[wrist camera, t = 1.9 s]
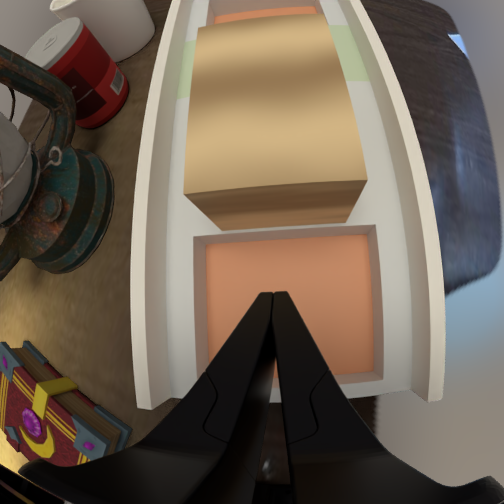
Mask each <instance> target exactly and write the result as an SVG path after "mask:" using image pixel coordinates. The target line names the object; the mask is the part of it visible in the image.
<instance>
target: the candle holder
mask: <svg viewBox="0 0 504 504" xmlns="http://www.w3.org/2000/svg"><path fill="white" fill-rule="evenodd" d="M50 10H51V11H52V12H53V13H54V14H55V15H56V16H57V17H58V18H59V19H60V20H61V21H64V20H66V19H68V18H72V17H78V18H79V19H80V20H81V21H82V22H83V23H84V24H85V25H86V27H87V28H88V29H89V30H90V31H91V33H92V34H93V35H94V37H95V38H96V39H97V40H98V42H99V43H100V44H101V46H102V47H103V48H104V49H105V51H106V52H107V53H108V55H109V56H110V57H111V58H112V60H113V61H114V62H115V63H116V62H119V61H122V60H124V59H126V58H128V57H130V56H132V55H134V54H135V53H137V52H138V51H139V50H141V49H142V48H143V47H144V46H145V45H146V44H147V43H148V42H149V41H150V40H151V38H152V37H153V35H154V32H155V26H154V23H153V21H152V19H151V16H150V14H149V12H148V10H147V8H146V5H145V3H144V1H143V0H53V1H52V3H51V5H50Z"/></svg>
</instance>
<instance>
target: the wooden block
mask: <svg viewBox="0 0 504 504" xmlns="http://www.w3.org/2000/svg"><path fill="white" fill-rule="evenodd" d="M367 181H368V177H367V172H366V166H365V161H364V156H363V151H362V146H361V141H360V137H359V132H358V128H357V123H356V119H355V115H354V111H353V107H352V103H351V99H350V95H349V91H348V88H347V84H346V80H345V77H344V74H343V70H342V67H341V63H340V60H339V57H338V54H337V51H336V48H335V45H334V42H333V39H332V36H331V33H330V30H329V27H328V24H327V22H326V19H325V16H324V14H294V15H279V16H268V17H259V18H250V19H243V20H236V21H230V22H224V23H218V24H213V25H208V26H203V27H199V28H198V32H197V39H196V46H195V54H194V62H193V71H192V80H191V89H190V100H189V111H188V122H187V135H186V150H185V167H184V188H183V195H185V196H186V197H187V198H188V199H189V200H190V201H191V202H192V203H193V204H194V205H195V206H196V207H197V208H198V209H199V210H200V211H201V212H202V213H204V214H205V215H206V216H207V217H208V218H209V219H210V220H211V221H212V222H213V223H214V224H215V225H216V226H217V227H218V228H219V229H220V230H222V231H229V230H243V229H256V228H271V227H285V226H301V225H317V224H334V223H346V221H347V219H348V218H349V216H350V214H351V212H352V210H353V208H354V206H355V204H356V202H357V200H358V198H359V197H360V195H361V193H362V191H363V189H364V187H365V185H366V183H367Z"/></svg>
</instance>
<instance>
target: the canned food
mask: <svg viewBox="0 0 504 504" xmlns="http://www.w3.org/2000/svg"><path fill="white" fill-rule="evenodd" d="M25 58H26V59H27V60H29V61H31V62H33V63H35V64H36V65H38V66H40V67H42V68H43V69H45V70H47V71H49V72H50V73H52V74H54V75H55V76H57V77H58V78H59V79H60V80H62V81H63V82H64V83H65V84H66V85H67V86H69V87H70V89H71V91H72V94H73V96H74V99H75V103H76V122H75V124H77V125H78V126H81V127H85V128H94V127H97V126H100V125H102V124H103V123H105V122H107V121H108V120H109V119H111V118H112V117H113V116H114V115H115V114H116V113H117V112H118V111H119V109H120V108H121V107H122V105H123V104H124V102H125V100H126V98H127V94H128V83H127V79H126V77H125V75H124V74H123V73H122V71H121V70H120V69H119V68H118V66H117V65H116V64H115V62H114V61H113V60H112V58H111V57H110V56H109V55H108V53H107V52H106V51H105V49H104V48H103V47H102V46H101V44H100V43H99V42H98V40H97V39H96V38H95V37H94V35H93V34H92V33H91V31H90V30H89V29H88V28H87V27H86V25H85V24H84V23H83V22H82V21H81V20H80V19H79V18H78V17H72V18H68V19H66V20H64V21H62V22H60V23H58V24H57V25H55V26H54V27H52V28H51V29H50V30H48V31H47V32H46V33H45V34H44V35H43V36H42V37H41V38H40V39H39V40H38V41H37V42H36V43H35V44H34V45H33V46H32V48H31V49H30V50H29V52H28V53H27V55H26V56H25Z"/></svg>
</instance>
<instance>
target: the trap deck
mask: <svg viewBox="0 0 504 504" xmlns="http://www.w3.org/2000/svg"><path fill="white" fill-rule="evenodd" d="M294 14H324V16H325V19H326V22H327V24H328V27H329V30H330V33H331V36H332V39H333V42H334V45H335V48H336V51H337V54H338V57H339V60H340V63H341V67H342V70H343V74H344V77H345V80H346V84H347V88H348V91H349V95H350V99H351V103H352V107H353V111H354V115H355V119H356V123H357V128H358V132H359V137H360V141H361V146H362V151H363V156H364V161H365V166H366V172H367V177H368V181H367V183H366V185H365V187H364V189H363V191H362V193H361V195H360V197H359V198H358V200H357V202H356V204H355V206H354V208H353V210H352V212H351V214H350V216H349V218H348V219H347V221H346V223H334V224H317V225H301V226H285V227H271V228H256V229H243V230H229V231H222V230H220V229H219V228H218V227H217V226H216V225H215V224H214V223H213V222H212V221H211V220H210V219H209V218H208V217H207V216H206V215H205V214H204V213H202V212H201V211H200V210H199V209H198V208H197V207H196V206H195V205H194V204H193V203H192V202H191V201H190V200H189V199H188V198H187V197H186V196H185V195H183V188H184V167H185V150H186V135H187V122H188V111H189V100H190V89H191V80H192V71H193V62H194V54H195V46H196V39H197V32H198V28H199V27H203V26H208V25H213V24H218V23H224V22H230V21H236V20H243V19H250V18H259V17H268V16H279V15H294ZM275 291H287V292H288V293H289V295H290V297H291V298H292V300H293V302H294V304H295V306H296V307H297V309H298V311H299V313H300V315H301V317H302V318H303V320H304V322H305V324H306V326H307V328H308V329H309V331H310V333H311V335H312V337H313V339H314V341H315V342H316V344H317V346H318V348H319V350H320V352H321V353H322V355H323V357H324V359H325V361H326V363H327V365H328V366H329V370H331V372H332V374H333V375H334V377H335V379H336V381H337V383H338V384H339V386H340V388H341V389H342V391H343V393H344V394H345V396H346V397H347V399H348V398H357V397H366V396H374V395H381V394H388V393H395V392H401V391H407V390H412V391H413V392H414V393H416V394H417V395H418V396H420V397H421V398H422V399H424V400H425V401H427V402H433V401H437V400H441V399H443V387H444V372H445V299H444V283H443V271H442V261H441V252H440V245H439V237H438V230H437V224H436V218H435V212H434V207H433V201H432V196H431V191H430V187H429V182H428V178H427V173H426V169H425V165H424V161H423V157H422V153H421V150H420V146H419V143H418V139H417V136H416V132H415V129H414V126H413V123H412V119H411V116H410V113H409V110H408V107H407V105H406V102H405V99H404V96H403V93H402V91H401V88H400V85H399V83H398V80H397V78H396V75H395V73H394V70H393V68H392V65H391V63H390V61H389V58H388V56H387V54H386V52H385V49H384V47H383V45H382V43H381V41H380V39H379V37H378V35H377V32H376V30H375V28H374V26H373V24H372V22H371V21H370V19H369V17H368V15H367V13H366V11H365V9H364V7H363V6H362V4H361V2H360V0H172V3H171V6H170V9H169V13H168V16H167V20H166V23H165V27H164V30H163V34H162V38H161V42H160V46H159V50H158V54H157V58H156V62H155V67H154V71H153V76H152V81H151V85H150V90H149V96H148V101H147V106H146V112H145V118H144V124H143V130H142V137H141V144H140V151H139V159H138V168H137V177H136V186H135V197H134V210H133V224H132V244H131V334H132V353H133V368H134V380H135V390H136V400H137V408H142V409H149V410H152V409H154V408H155V407H157V406H159V405H160V404H162V403H163V402H165V401H166V400H168V399H169V398H171V397H172V398H183V397H184V396H185V395H186V394H187V393H188V392H189V390H190V389H191V388H192V387H193V385H194V384H195V383H196V381H197V380H198V379H199V377H200V376H201V375H202V373H203V372H205V369H206V368H207V366H208V365H209V364H210V362H211V361H212V360H213V358H214V357H215V355H216V354H217V353H218V351H219V350H220V348H221V347H222V346H223V344H224V343H225V341H226V340H227V339H228V337H229V336H230V334H231V333H232V332H233V330H234V329H235V327H236V326H237V324H238V323H239V322H240V320H241V319H242V317H243V316H244V314H245V313H246V312H247V310H248V309H249V307H250V306H251V304H252V303H253V302H254V300H255V299H256V297H257V296H258V294H259V293H260V292H273V293H274V292H275ZM270 402H281V397H280V388H279V380H278V372H277V364H276V362H275V370H274V377H273V383H272V390H271V396H270Z"/></svg>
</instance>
